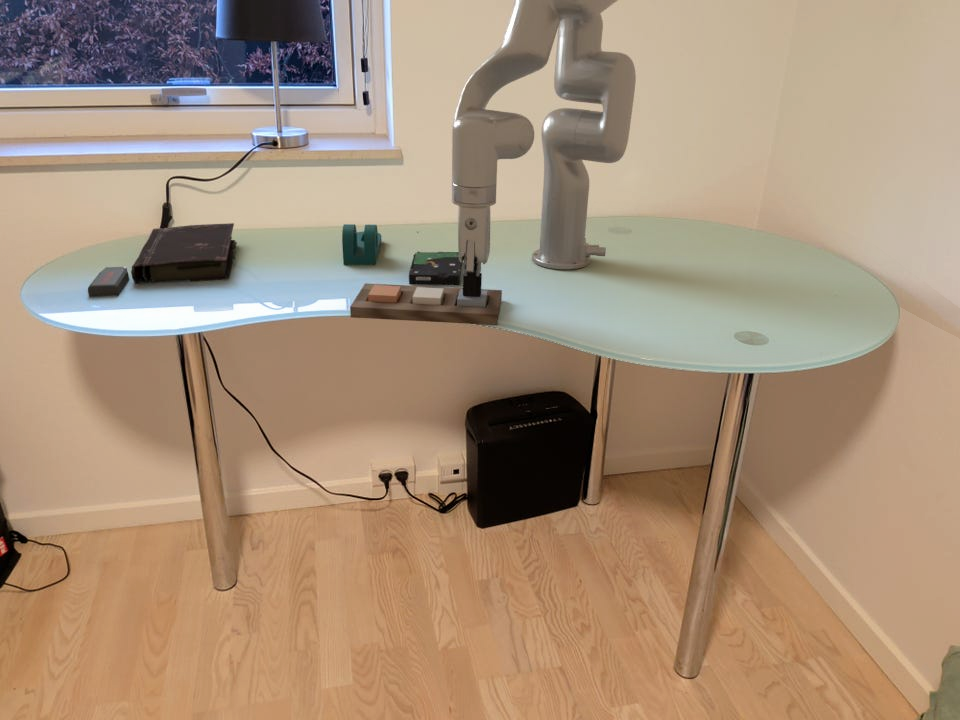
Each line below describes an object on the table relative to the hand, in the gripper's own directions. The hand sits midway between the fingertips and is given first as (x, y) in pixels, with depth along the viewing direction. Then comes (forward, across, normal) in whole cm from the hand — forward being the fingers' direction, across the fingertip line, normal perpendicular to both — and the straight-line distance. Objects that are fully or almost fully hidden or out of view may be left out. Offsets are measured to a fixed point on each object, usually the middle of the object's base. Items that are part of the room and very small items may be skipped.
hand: (472, 294), depth 135 cm
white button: (+4, 0, +8) cm, 9 cm away
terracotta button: (+4, 0, +16) cm, 16 cm away
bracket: (+4, +31, +27) cm, 41 cm away
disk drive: (+4, +20, +9) cm, 22 cm away
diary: (+4, +19, +61) cm, 64 cm away
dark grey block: (+4, +4, +70) cm, 70 cm away
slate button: (+4, 0, 0) cm, 4 cm away
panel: (+3, 0, +8) cm, 8 cm away
